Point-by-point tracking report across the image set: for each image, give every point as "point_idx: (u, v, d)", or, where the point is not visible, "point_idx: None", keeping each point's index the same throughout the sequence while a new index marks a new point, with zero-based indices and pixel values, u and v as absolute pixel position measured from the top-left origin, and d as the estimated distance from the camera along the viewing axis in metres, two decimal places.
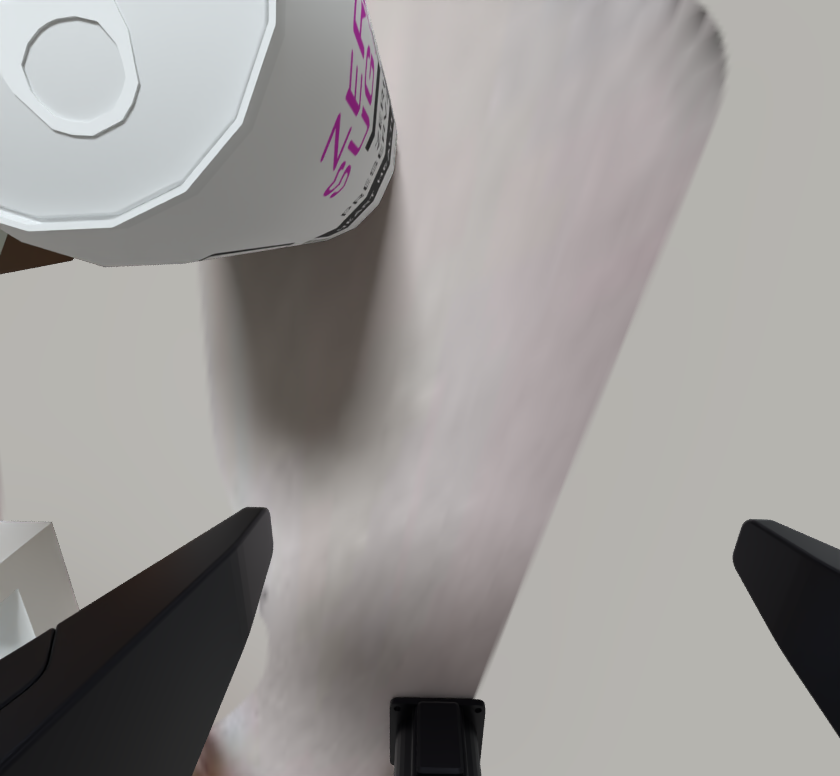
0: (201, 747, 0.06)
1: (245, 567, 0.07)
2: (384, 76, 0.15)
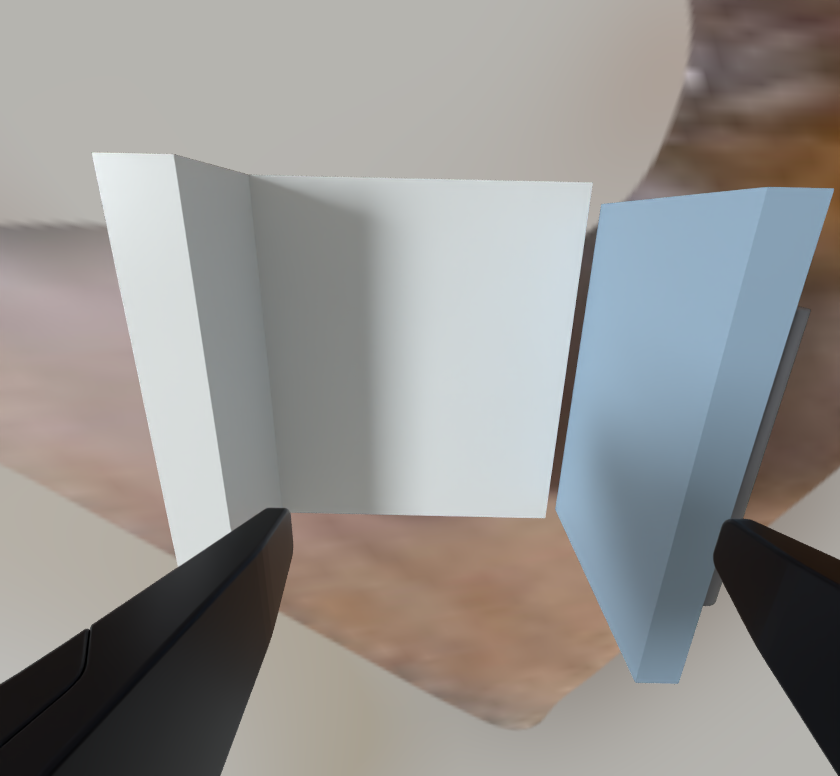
0: (228, 747, 0.06)
1: (269, 567, 0.07)
2: None
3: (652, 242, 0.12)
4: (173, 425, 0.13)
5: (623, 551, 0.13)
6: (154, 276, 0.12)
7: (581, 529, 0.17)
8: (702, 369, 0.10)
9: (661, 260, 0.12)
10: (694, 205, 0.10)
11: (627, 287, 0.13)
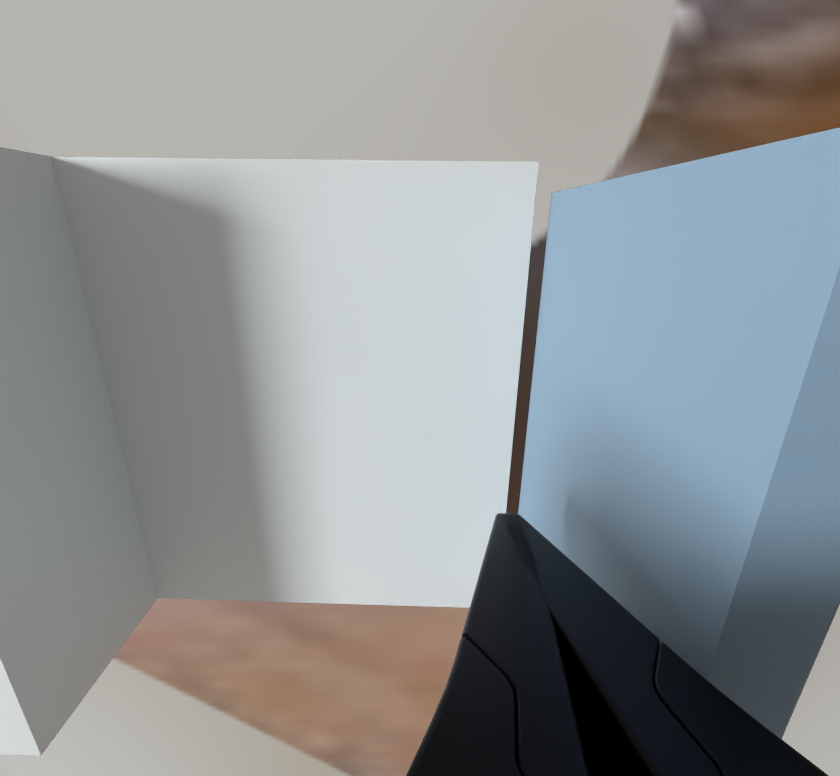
0: None
1: None
2: None
3: (621, 249, 0.07)
4: None
5: None
6: None
7: None
8: (720, 499, 0.05)
9: (637, 279, 0.07)
10: (696, 181, 0.05)
11: (587, 317, 0.09)
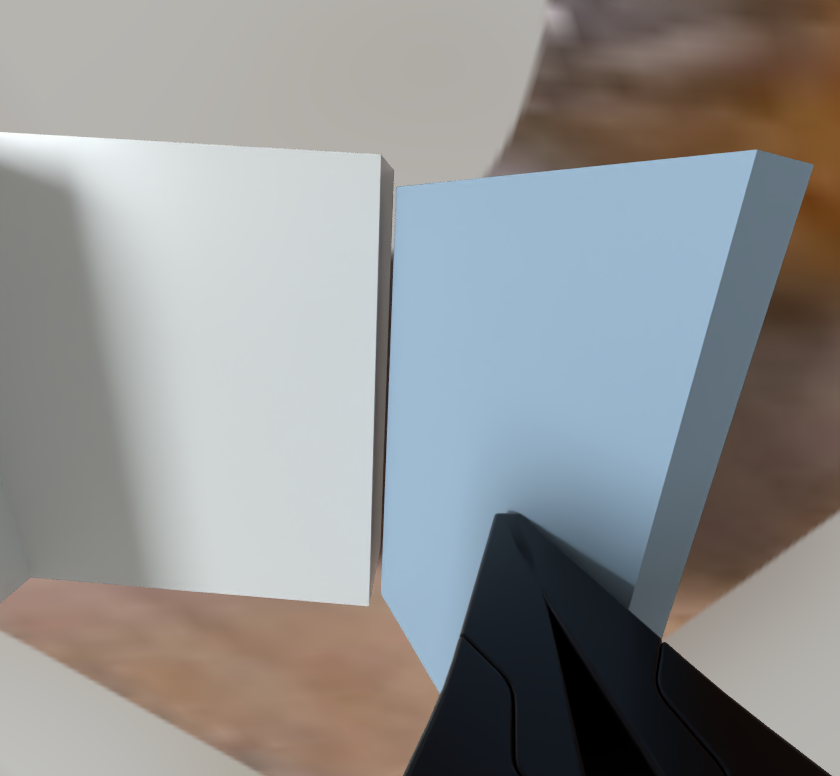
0: None
1: None
2: None
3: (497, 244, 0.08)
4: None
5: None
6: None
7: (426, 633, 0.12)
8: (630, 456, 0.06)
9: (519, 272, 0.07)
10: (578, 187, 0.06)
11: (459, 309, 0.09)
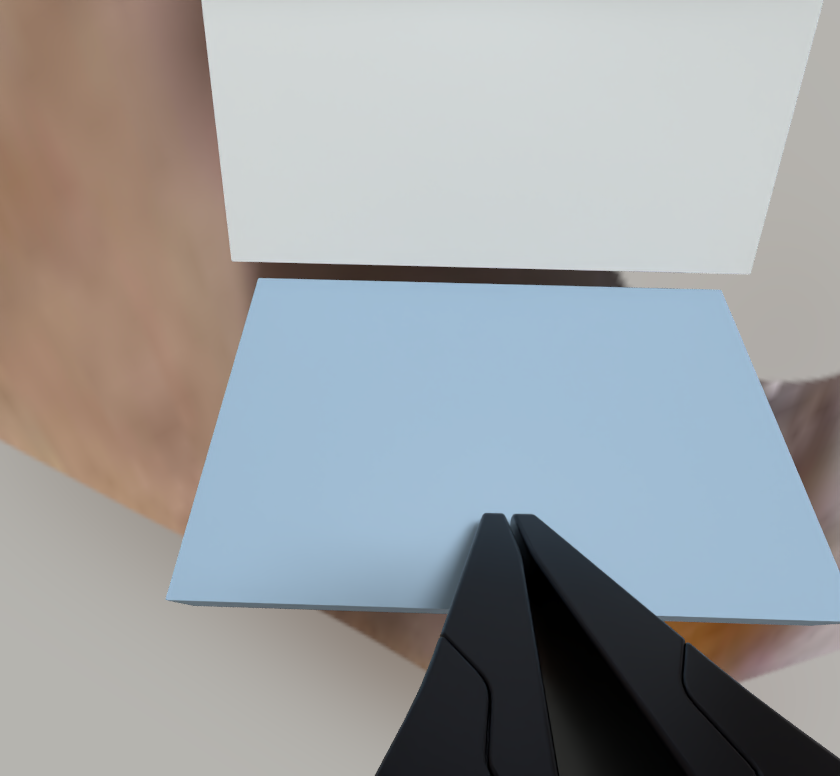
0: None
1: None
2: None
3: (729, 426, 0.10)
4: None
5: (332, 497, 0.09)
6: None
7: (283, 370, 0.11)
8: (652, 585, 0.08)
9: (720, 453, 0.10)
10: (798, 501, 0.09)
11: (659, 387, 0.11)
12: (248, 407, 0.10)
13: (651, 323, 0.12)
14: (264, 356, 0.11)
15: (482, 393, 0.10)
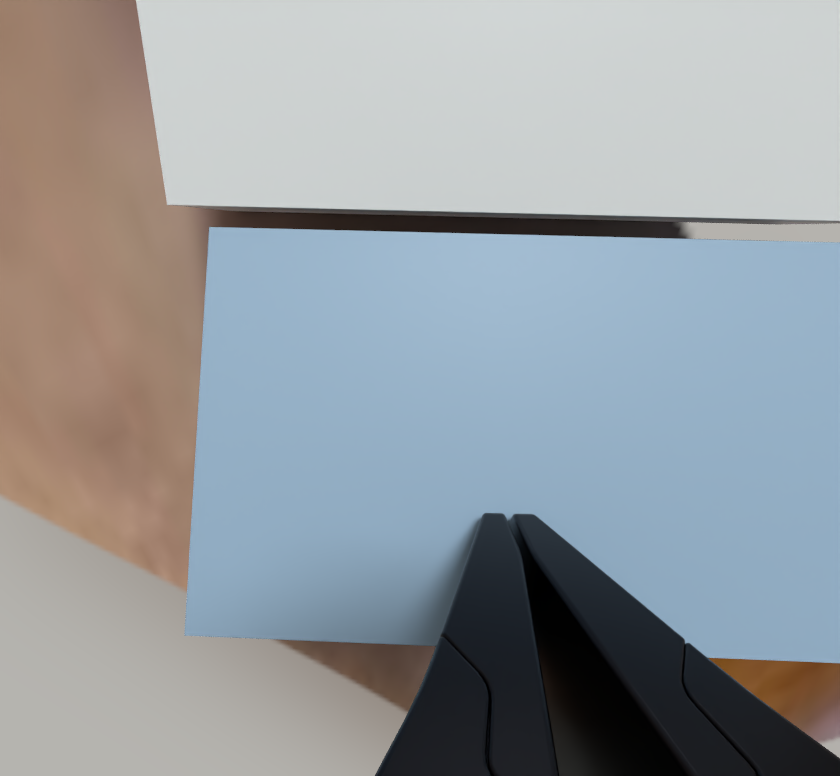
0: None
1: None
2: None
3: (791, 453, 0.09)
4: None
5: (334, 535, 0.09)
6: None
7: (261, 375, 0.09)
8: None
9: (769, 487, 0.09)
10: (838, 542, 0.08)
11: (721, 399, 0.09)
12: (228, 426, 0.09)
13: (733, 301, 0.09)
14: (236, 355, 0.09)
15: (503, 408, 0.09)
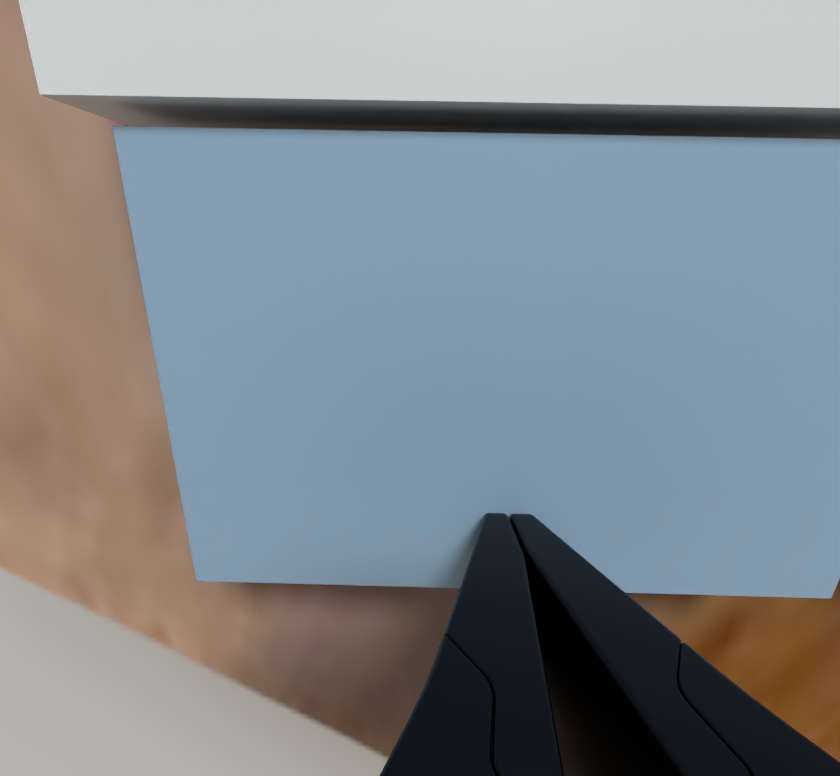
0: None
1: None
2: None
3: (839, 417, 0.08)
4: None
5: (331, 499, 0.08)
6: None
7: (225, 335, 0.07)
8: (652, 572, 0.09)
9: (803, 451, 0.08)
10: None
11: (777, 358, 0.07)
12: (198, 393, 0.08)
13: (832, 234, 0.07)
14: (189, 311, 0.07)
15: (516, 371, 0.07)
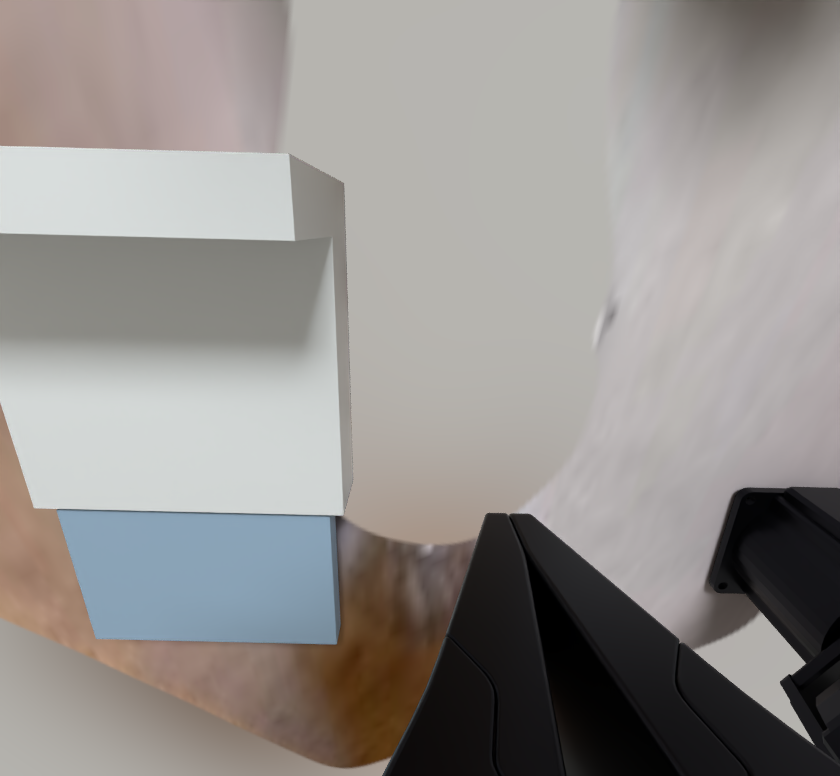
0: None
1: None
2: None
3: (311, 586, 0.22)
4: None
5: (142, 611, 0.23)
6: (173, 195, 0.11)
7: (97, 562, 0.22)
8: (266, 635, 0.23)
9: (303, 596, 0.22)
10: (330, 612, 0.23)
11: (282, 569, 0.22)
12: (90, 578, 0.22)
13: (284, 537, 0.21)
14: (84, 555, 0.21)
15: (197, 573, 0.22)
